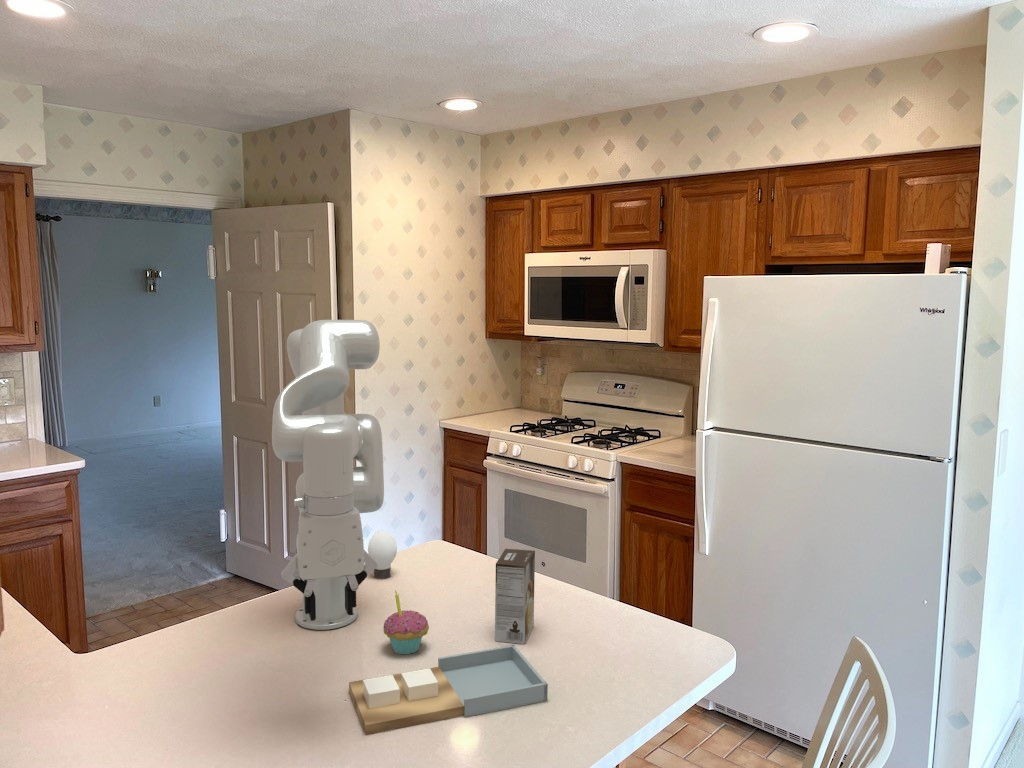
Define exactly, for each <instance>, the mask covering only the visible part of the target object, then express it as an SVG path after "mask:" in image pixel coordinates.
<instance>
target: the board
mask: <svg viewBox="0 0 1024 768" xmlns="http://www.w3.org/2000/svg"><path fill="white" fill-rule="evenodd" d="M429 668H430V669H431V671H432V673H433V674H434V676H435V678H436V679H437V681H438V696H434V697H429V698H424V699H418V700H413V701H408V699H407V697H406V695H405V693H404V691H403V689H402V687H401V673H402V672H400V673H394V674H392V675H393V677H394V679H395V681H396V683H397V685H398V687H399V689H400V703H397V704H392V705H386V706H381V707H376V708H370V709H369V707H368V704H367V702H366V700H365V697H364V695H363V680H364V679H359V680H354V681H349V682H348V691H349V694H350V697H351V700H352V702H354V703H353V704H354V708H355V710H357V711H356V713H357V716H358V719H359V721H360V724H361V726H362V729H363V731H364V734H365V735H366V736H367V735H372V734H377V733H381V732H382V733H383V732H387V731H392V730H397V729H401V728H407V727H413V726H417V725H422V724H428V723H431V722H436V721H442V720H447V719H452V718H457V717H458V718H459V717H462V716H463V717H464V705H463V704H462V702H461V701H460V699H459V697H458V696H457V694H456V693H455V691H454V690H453V688H452V686H451V685H450V683H449V682H448V680H447V678H446V677H445V675H444V674H443V672H442V670H441V669H440V667H438V666H436V667H435V666H434V667H428V668H427V669H429ZM421 670H423V668H422V669H421ZM412 671H413V670H412ZM412 671H410V672H412ZM404 673H406V672H404ZM383 676H384V675H383ZM383 676H381V677H383ZM371 678H372V677H370V678H369V679H371ZM375 678H377V677H376V676H375Z"/></svg>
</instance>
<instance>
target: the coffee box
mask: <svg viewBox="0 0 1024 768" xmlns="http://www.w3.org/2000/svg"><path fill="white" fill-rule="evenodd" d="M535 564H536V550H533V549H532V550H530V549H529V550H527V549H516V548H514V549H513V548H504V551H502V554H501V555H500V557H499V558H498V560H496V563H495V595H494V597H495V598H494V602H495V605H494V606H495V607H494V641H495V642H498V643H499V642H501V643H510V644H518V645H526V643H527V641H528V639H529V636H530V634H531V632H532V630H533V628H534V625H535V622H534V621H535V578H536V577H535V569H536V568H535V567H536V565H535Z"/></svg>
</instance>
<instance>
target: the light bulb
mask: <svg viewBox="0 0 1024 768" xmlns="http://www.w3.org/2000/svg"><path fill="white" fill-rule="evenodd" d="M397 551H398V546H397V541H396V538H395V537H394V536H393V534H392V533H390V532H389V531H388V530H387V531H386V530H379V531H377V532H375V533H374V534H373V535H372V536H371V537H370V540H369V541H368V548H367V553H368V554H369V555H370V556H371V557H372V558H373V559H374V560H375V562H376V563H377V567H376V568H375V569H374V570H373V571H372V573H373V577H374V578H376V579H379V580H380V579H383V580H385V579H389V578H391V576H392V575H391V572H392V567H391V565H392V563H393V562H394V560H395V558H396V557H397Z"/></svg>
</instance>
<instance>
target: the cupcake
mask: <svg viewBox="0 0 1024 768" xmlns="http://www.w3.org/2000/svg"><path fill="white" fill-rule="evenodd" d="M394 597H395V598H394V599H395V602H396V608H397V612H393V613H392V614H391V615H389V616H388V617H387V619H385V621H384V622H383V634H384V635H386V636H387V638H389V641H390V643H391V646H392V649H393V652H394V653H396V654H399V655H411V653H412V654H414V653H416V652H417V651H418V650H419V648H420V644H421V641H422V638H423V637H424V636H426V635H427V634H428V632H429V628H430V627H429V622H428V620H427V618H426V616H425V615H423V614H421V613H420V612H419V611H415V610H402V608H401V602H400V594H399V593H397V590H394Z"/></svg>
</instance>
